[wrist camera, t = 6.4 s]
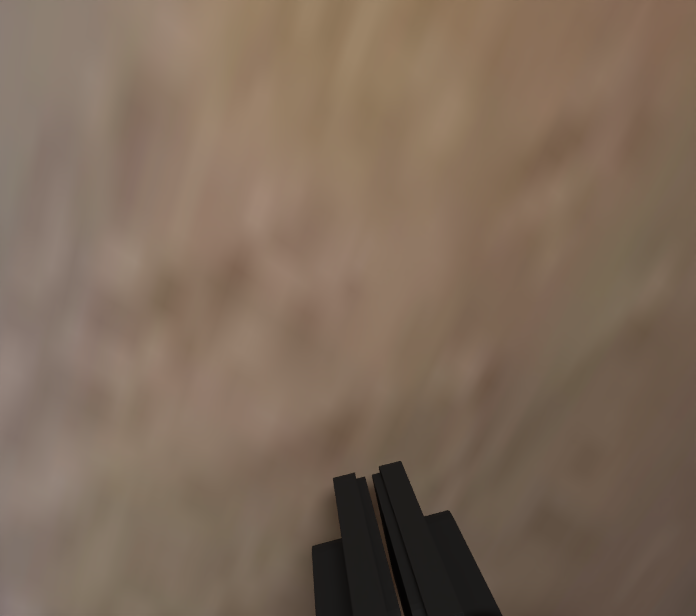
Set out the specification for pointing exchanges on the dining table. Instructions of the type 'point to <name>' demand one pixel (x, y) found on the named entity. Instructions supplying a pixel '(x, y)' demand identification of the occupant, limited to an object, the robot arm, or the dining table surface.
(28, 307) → the dining table surface
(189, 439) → the dining table surface
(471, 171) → the dining table surface
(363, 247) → the dining table surface
